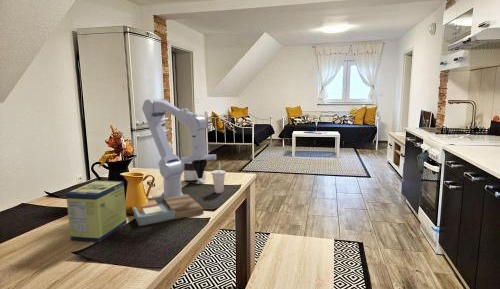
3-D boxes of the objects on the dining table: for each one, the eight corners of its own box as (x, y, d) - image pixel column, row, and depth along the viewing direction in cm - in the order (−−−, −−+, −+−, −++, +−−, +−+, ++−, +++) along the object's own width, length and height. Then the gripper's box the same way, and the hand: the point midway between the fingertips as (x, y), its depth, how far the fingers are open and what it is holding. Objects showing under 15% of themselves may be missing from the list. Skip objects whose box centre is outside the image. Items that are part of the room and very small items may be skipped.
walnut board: (163, 202, 133) (163, 198, 132) (187, 198, 137) (187, 194, 137) (176, 218, 115) (175, 213, 115) (203, 213, 120) (203, 208, 120)
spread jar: (185, 179, 170) (184, 157, 168) (206, 178, 171) (205, 157, 169) (182, 185, 158) (181, 162, 156) (205, 184, 159) (204, 161, 158)
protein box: (127, 223, 112) (124, 180, 110) (99, 243, 97) (95, 194, 94) (101, 221, 114) (97, 179, 111) (69, 241, 99) (64, 193, 96)
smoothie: (223, 194, 143) (223, 164, 140) (210, 193, 144) (209, 163, 142) (227, 190, 149) (226, 161, 147) (214, 189, 150) (213, 160, 148)
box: (130, 208, 127) (130, 201, 126) (163, 202, 133) (162, 195, 132) (139, 226, 109) (138, 217, 109) (175, 218, 115) (175, 211, 115)
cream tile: (143, 215, 118) (142, 208, 117) (159, 212, 121) (159, 205, 120) (146, 220, 113) (145, 214, 112) (163, 217, 115) (162, 210, 115)
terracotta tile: (139, 207, 125) (138, 201, 125) (154, 205, 128) (154, 199, 128) (141, 212, 120) (141, 206, 120) (157, 209, 123) (157, 203, 123)
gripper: (184, 148, 122) (185, 182, 125) (218, 145, 129) (219, 177, 131) (179, 146, 129) (180, 178, 131) (212, 143, 135) (213, 174, 137)
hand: (199, 178), depth 131 cm, fingers closed
